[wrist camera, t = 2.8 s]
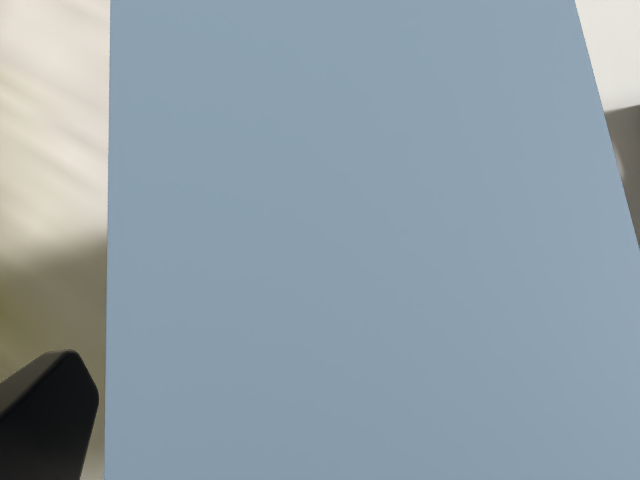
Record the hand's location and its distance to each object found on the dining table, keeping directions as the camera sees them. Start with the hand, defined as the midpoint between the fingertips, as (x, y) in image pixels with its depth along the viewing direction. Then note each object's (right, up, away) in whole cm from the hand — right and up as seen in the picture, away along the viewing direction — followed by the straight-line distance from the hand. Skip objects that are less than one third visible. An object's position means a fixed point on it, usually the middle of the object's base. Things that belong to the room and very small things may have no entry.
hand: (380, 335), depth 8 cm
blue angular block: (+1, 0, +8) cm, 8 cm away
